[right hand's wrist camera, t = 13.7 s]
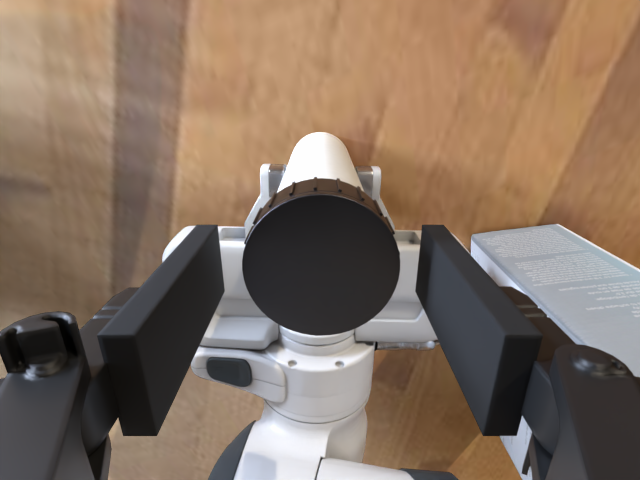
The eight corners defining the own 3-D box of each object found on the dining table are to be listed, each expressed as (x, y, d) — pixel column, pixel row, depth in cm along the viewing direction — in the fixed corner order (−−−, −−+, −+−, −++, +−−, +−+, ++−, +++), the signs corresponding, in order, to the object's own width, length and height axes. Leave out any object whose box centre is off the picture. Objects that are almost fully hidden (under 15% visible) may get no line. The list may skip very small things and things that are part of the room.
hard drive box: (544, 367, 37) (766, 649, 19) (465, 375, 37) (606, 660, 19) (561, 219, 31) (912, 416, 13) (467, 231, 31) (675, 438, 13)
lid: (255, 305, 15) (245, 337, 13) (245, 175, 13) (232, 191, 11) (386, 305, 15) (395, 338, 13) (396, 175, 13) (409, 191, 11)
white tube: (292, 190, 30) (258, 320, 14) (290, 132, 29) (249, 200, 12) (348, 190, 30) (383, 320, 14) (350, 132, 29) (393, 200, 12)
